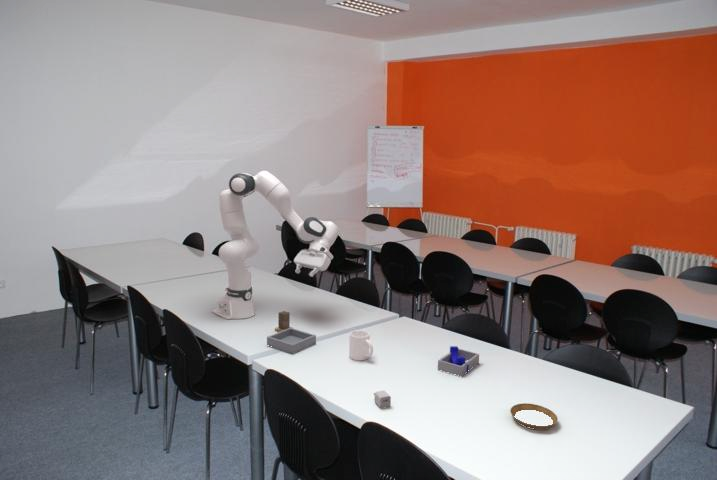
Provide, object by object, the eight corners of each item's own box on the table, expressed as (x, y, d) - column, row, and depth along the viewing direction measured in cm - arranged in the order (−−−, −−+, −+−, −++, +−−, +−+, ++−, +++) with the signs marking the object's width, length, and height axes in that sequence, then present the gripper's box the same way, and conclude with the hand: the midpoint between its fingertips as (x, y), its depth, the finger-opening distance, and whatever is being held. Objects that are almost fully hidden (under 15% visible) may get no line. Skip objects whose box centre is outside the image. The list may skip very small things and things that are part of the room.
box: (267, 345, 233) (266, 336, 232) (290, 336, 245) (290, 327, 244) (292, 354, 224) (292, 345, 224) (315, 343, 237) (315, 335, 236)
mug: (379, 360, 221) (380, 336, 219) (364, 365, 215) (365, 341, 213) (359, 351, 229) (360, 328, 227) (345, 356, 224) (345, 333, 222)
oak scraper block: (274, 331, 251) (274, 312, 249) (283, 327, 256) (283, 309, 254) (284, 334, 247) (284, 315, 246) (293, 330, 252) (293, 312, 250)
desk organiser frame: (437, 369, 213) (438, 360, 212) (455, 356, 226) (456, 347, 226) (461, 376, 207) (461, 367, 206) (478, 363, 221) (479, 354, 220)
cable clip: (468, 372, 211) (469, 358, 210) (456, 372, 211) (457, 358, 210) (459, 359, 223) (460, 346, 222) (449, 360, 222) (450, 346, 221)
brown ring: (546, 410, 183) (547, 403, 183) (564, 433, 169) (565, 426, 169) (504, 410, 183) (504, 403, 182) (518, 433, 168) (518, 425, 168)
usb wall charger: (379, 408, 181) (380, 397, 181) (371, 399, 188) (371, 388, 187) (390, 406, 183) (390, 395, 182) (381, 397, 189) (381, 387, 188)
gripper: (299, 244, 266) (285, 267, 261) (329, 250, 253) (314, 273, 247) (306, 252, 270) (292, 274, 265) (336, 257, 257) (321, 281, 251)
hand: (303, 274), depth 256 cm, fingers open, 8 cm apart
